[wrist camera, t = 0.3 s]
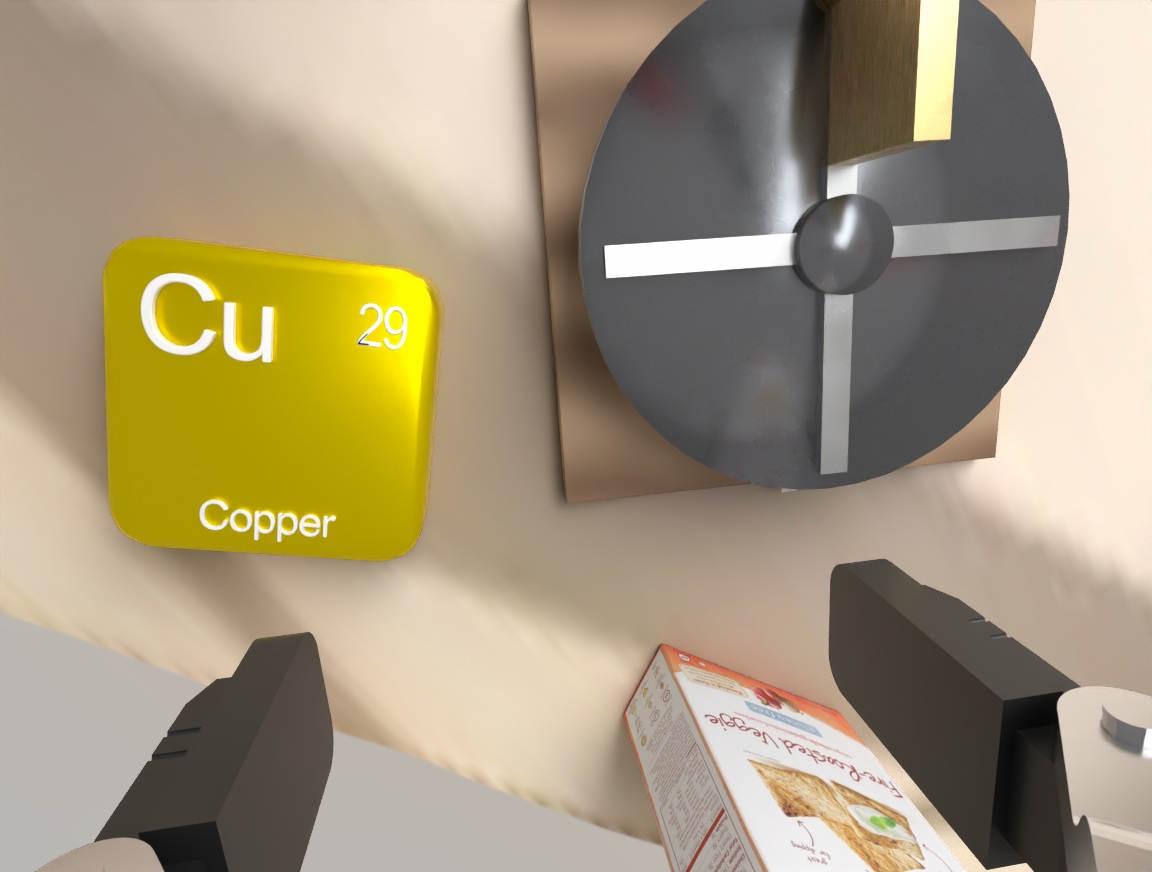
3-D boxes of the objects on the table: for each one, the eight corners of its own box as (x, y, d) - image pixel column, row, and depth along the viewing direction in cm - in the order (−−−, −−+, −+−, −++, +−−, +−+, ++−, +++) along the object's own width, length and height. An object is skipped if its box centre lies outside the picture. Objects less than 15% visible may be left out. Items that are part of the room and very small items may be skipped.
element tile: (148, 515, 38) (101, 550, 33) (144, 233, 34) (91, 229, 30) (426, 535, 40) (417, 570, 35) (447, 272, 37) (442, 273, 32)
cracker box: (841, 704, 46) (1116, 1043, 26) (797, 776, 47) (1029, 1157, 27) (661, 634, 43) (814, 957, 23) (618, 713, 44) (729, 1088, 24)
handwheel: (558, -38, 29) (586, -151, 21) (1076, -50, 32) (1273, -154, 24) (593, 505, 35) (624, 574, 27) (1025, 458, 38) (1168, 510, 30)
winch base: (525, -25, 33) (532, -70, 29) (1018, -37, 36) (1094, -80, 32) (565, 505, 40) (575, 536, 36) (977, 461, 43) (1034, 484, 39)
